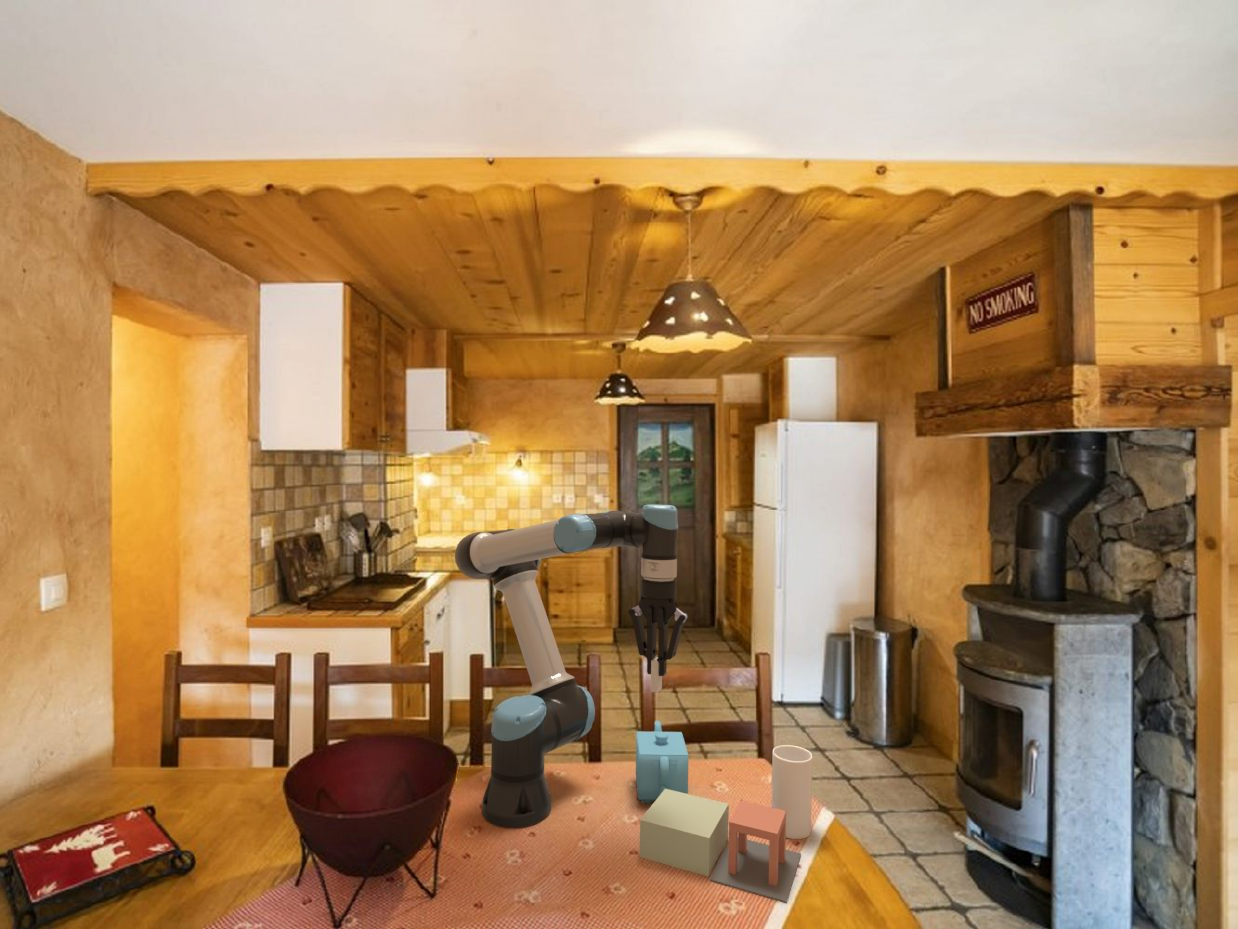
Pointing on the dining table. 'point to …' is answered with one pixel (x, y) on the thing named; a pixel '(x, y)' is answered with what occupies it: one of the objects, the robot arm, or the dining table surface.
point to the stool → (757, 834)
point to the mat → (757, 872)
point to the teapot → (660, 763)
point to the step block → (684, 831)
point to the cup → (793, 788)
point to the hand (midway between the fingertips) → (656, 690)
